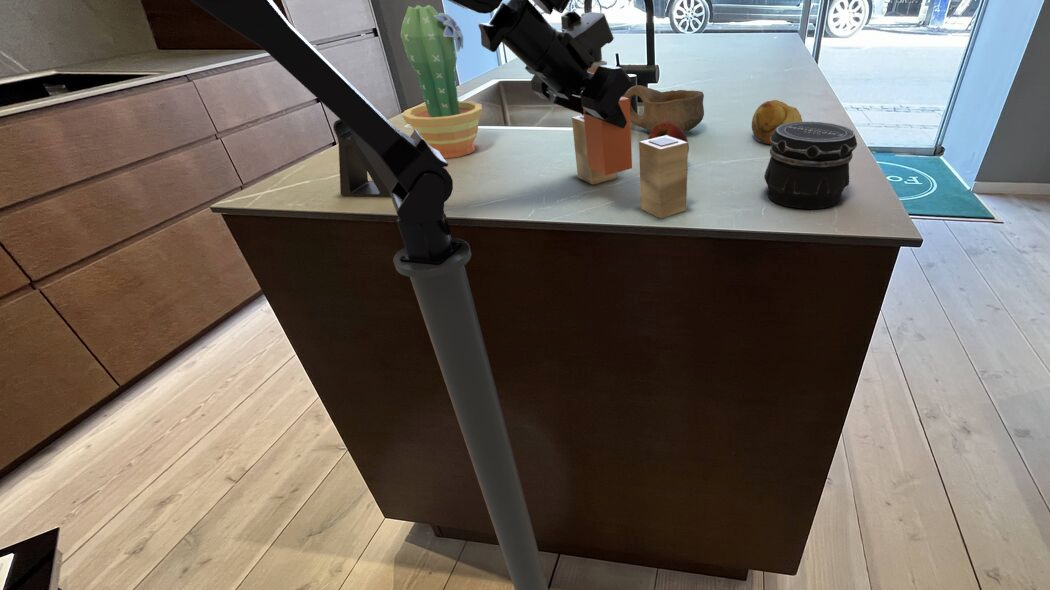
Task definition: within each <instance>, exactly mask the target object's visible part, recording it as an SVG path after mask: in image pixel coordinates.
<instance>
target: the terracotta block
mask: <svg viewBox="0 0 1050 590" xmlns="http://www.w3.org/2000/svg"><path fill="white" fill-rule="evenodd" d="M618 103H619V105H620V107H621V109H622V112H623V114H624V116H625V118H626V120H627V124H626V126H625V127H624V128H620V127H618V126H615V125H612V124H610V123H607V122H604V121H602V120H599V119H596V118H593V117H591V116H588V115H586V114H585V112H586V110H585V109H584V108H583V112H584V123H585V134H586V145H587V157H588V167H589V168H591V169H593V170H595V171H597V172H599V173H601V174H604V175H609V174H613V173H616V174H617V173H620V172H623V171H627V170H632V169H633V154H632V152H633V151H632V127H631V122H630V99H629V98H625V97H624V96H622V97H621V99H620V100H619V102H618Z"/></svg>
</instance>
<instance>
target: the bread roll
mask: <svg viewBox="0 0 1050 590" xmlns="http://www.w3.org/2000/svg"><path fill="white" fill-rule="evenodd" d="M793 122H803V118H802V114H801V113H800V111H799V110H798V109H797V107H793V106H791V105H788V104H787V103H785V102H783V101H782V100H781V101H780V100H778V99H772V100H768V101H765V102H763V103H761V104H760V105H759V106H758V107H757V109H755V111H754V113H753V116H752V120H751V130H752V133H753V135H754V137H755V138H756V140H757V141H760V142H761V143H763V144H766V145H772V144H771V142H770V138H771V134H772V133H773V132H774V131H775V130H776V128H777V127H778V126H780V125H782V124H787V123H793Z"/></svg>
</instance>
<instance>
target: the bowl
mask: <svg viewBox="0 0 1050 590" xmlns="http://www.w3.org/2000/svg"><path fill="white" fill-rule="evenodd" d="M635 96H637V97H639V98H640V99H641V102H642V104H643V114H638V113H637V112H636V111H635V110H634V108H633V106H632V99H633V97H635ZM623 97H625V98H629V99H630V124H632V125H634V126H637V127H640V128H642V129H644V130H648V131H650V132H651V131H652V129H653V128H654V127H655V126H656V125H657V124H659V123H661V122H670V123H673V124H675V125H677V126H678V127H679V128H681V129H682V131H683V132H684V133H686V132H688V131H689V132H690V131H692V130H693V129H694V128H695V127H697V126H698V125H699V124H700V123H701V122H702V120H703V119H704V118H705V117H704V116H705V109H704V97H705V95H704V92H703V91H701V90H686V89H678V90H674V89H672V90H667V91H660V90H657V89H653V88H651V87H648V86H644V85H641V84H640V85H639V84H638V85H636V84H635V85H633V86H631V87H629V89H628V88H627V90H626V91H625V92H624V94H623Z"/></svg>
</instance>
